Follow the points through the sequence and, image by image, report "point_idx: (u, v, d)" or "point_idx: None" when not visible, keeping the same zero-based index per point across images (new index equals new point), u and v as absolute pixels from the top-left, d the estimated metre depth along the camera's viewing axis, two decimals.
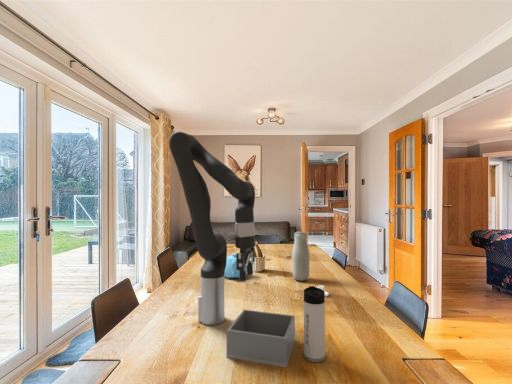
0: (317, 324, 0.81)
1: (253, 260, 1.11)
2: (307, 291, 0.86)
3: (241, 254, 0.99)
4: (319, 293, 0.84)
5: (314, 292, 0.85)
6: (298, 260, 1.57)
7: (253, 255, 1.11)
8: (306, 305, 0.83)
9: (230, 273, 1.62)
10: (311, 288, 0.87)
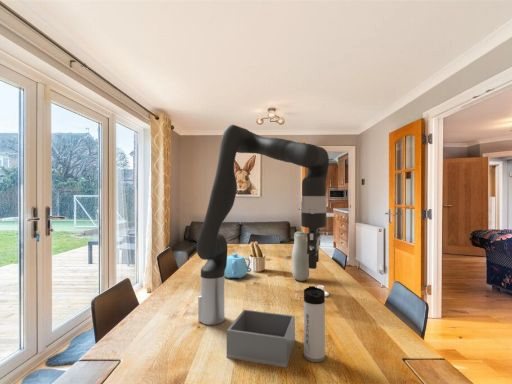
0: (317, 324, 0.81)
1: (318, 244, 0.90)
2: (307, 291, 0.86)
3: (314, 234, 0.79)
4: (319, 293, 0.84)
5: (314, 292, 0.85)
6: (298, 260, 1.57)
7: None
8: (306, 305, 0.83)
9: (230, 273, 1.62)
10: (311, 288, 0.87)
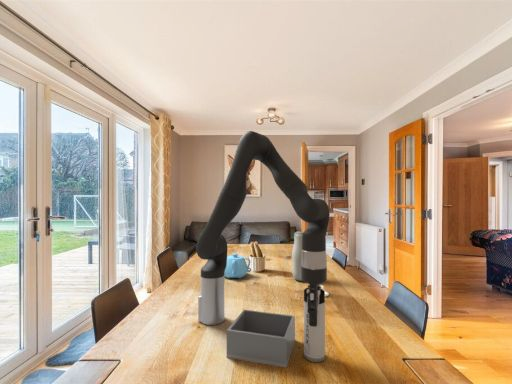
0: (317, 323, 0.81)
1: None
2: None
3: (314, 295, 0.78)
4: None
5: None
6: (298, 260, 1.57)
7: None
8: (306, 305, 0.83)
9: (230, 273, 1.62)
10: None
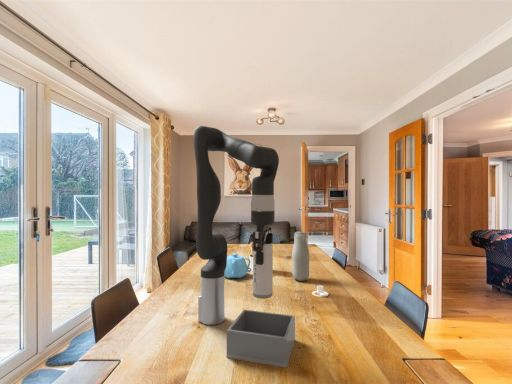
0: None
1: None
2: None
3: (259, 233, 0.83)
4: None
5: None
6: (298, 260, 1.57)
7: None
8: None
9: (230, 273, 1.62)
10: None
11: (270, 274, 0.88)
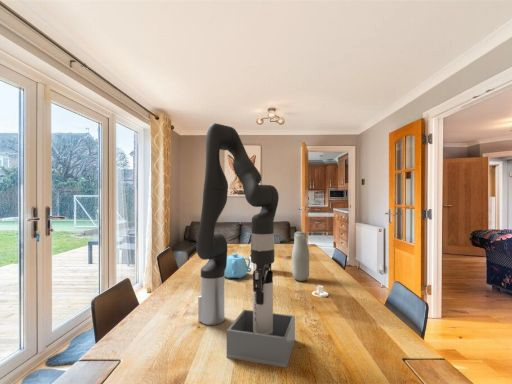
0: None
1: None
2: None
3: (259, 274, 0.83)
4: None
5: None
6: (298, 260, 1.57)
7: None
8: None
9: (230, 273, 1.62)
10: None
11: (270, 313, 0.87)
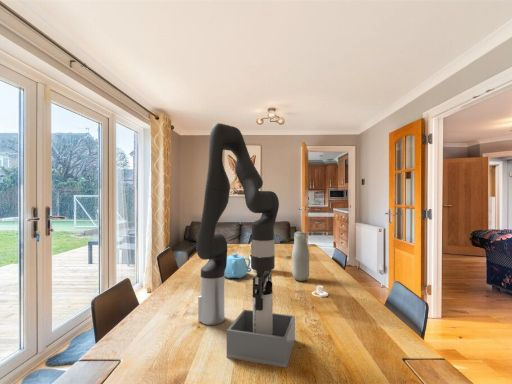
0: (263, 313, 0.86)
1: None
2: None
3: (259, 279, 0.83)
4: (267, 284, 0.89)
5: None
6: (298, 260, 1.57)
7: (270, 277, 0.95)
8: None
9: (230, 273, 1.62)
10: None
11: (270, 324, 0.87)
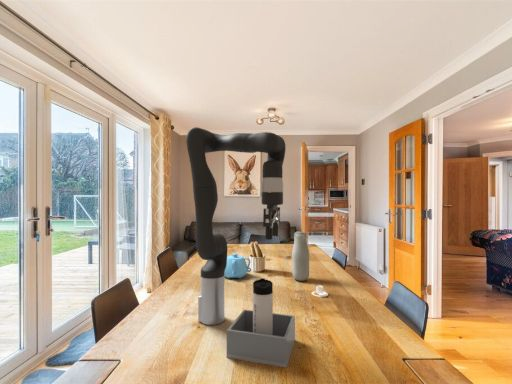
0: (263, 313, 0.86)
1: (279, 221, 1.03)
2: (257, 283, 0.90)
3: (269, 209, 0.92)
4: (267, 285, 0.89)
5: (262, 284, 0.89)
6: (298, 260, 1.57)
7: (279, 215, 1.03)
8: (254, 296, 0.88)
9: (230, 273, 1.62)
10: (261, 280, 0.92)
11: (270, 324, 0.87)
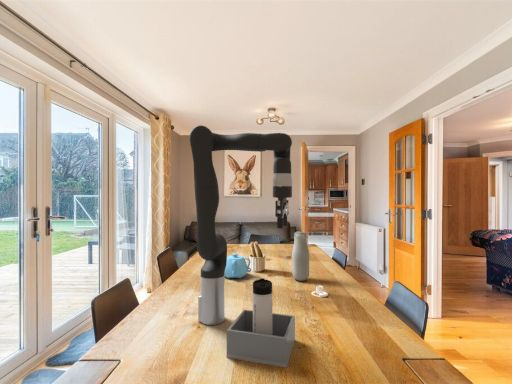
0: (263, 313, 0.86)
1: (287, 212, 1.16)
2: (256, 283, 0.90)
3: (280, 201, 1.04)
4: (267, 284, 0.89)
5: (262, 284, 0.89)
6: (298, 260, 1.57)
7: (287, 208, 1.16)
8: (254, 296, 0.88)
9: (230, 273, 1.62)
10: (261, 280, 0.92)
11: (270, 324, 0.87)
